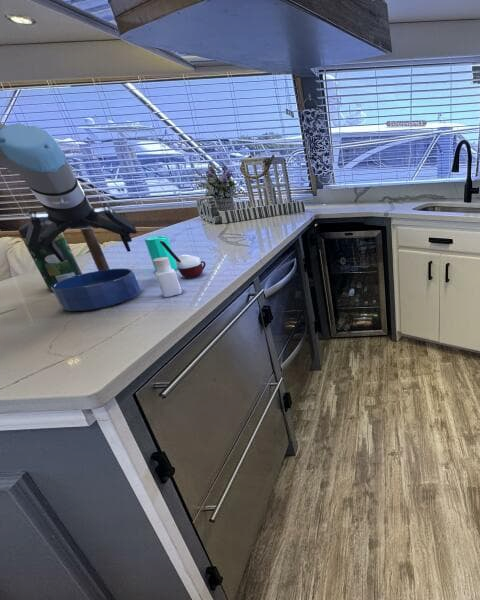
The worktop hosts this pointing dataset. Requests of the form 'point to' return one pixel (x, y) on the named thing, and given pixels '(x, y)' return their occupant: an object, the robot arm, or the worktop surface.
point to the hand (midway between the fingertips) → (96, 252)
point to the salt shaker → (166, 277)
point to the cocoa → (187, 264)
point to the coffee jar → (52, 258)
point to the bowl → (96, 289)
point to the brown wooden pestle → (95, 248)
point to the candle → (160, 249)
